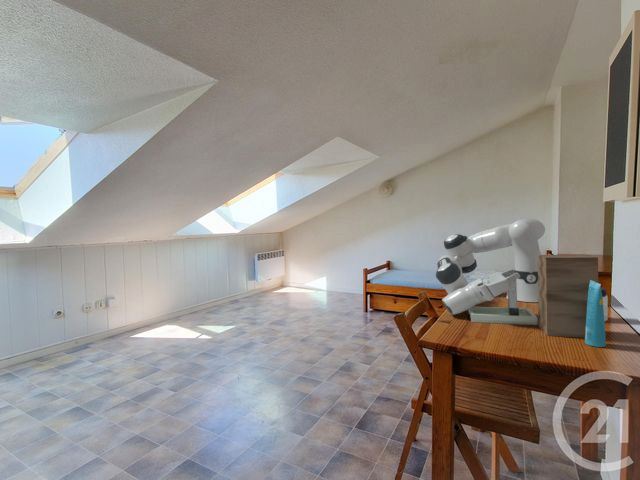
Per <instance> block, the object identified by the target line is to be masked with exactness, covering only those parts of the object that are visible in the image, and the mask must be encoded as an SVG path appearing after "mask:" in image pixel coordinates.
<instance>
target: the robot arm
mask: <svg viewBox="0 0 640 480" xmlns="http://www.w3.org/2000/svg"><path fill="white" fill-rule="evenodd" d="M545 233H546V227H545V224H544V223H543V222H541V221H540V220H539V219H537V218H536V219H534V218H523V219H522V218H521V219H518V220H515V221H514V222H513V223H512V222H511V223H509V224H504V225H499V226H496V227H495V226H494V227H493V228H489V229H485V230H482V231H479V232H477V233H474V234H472V235H470V236H467V235H462V234H460V233H459V234H457V233H455V234H452V235H449V236H447V237H446V238H445V239H444V241H443V246H444V248H445V250H446V252H447V254H444V255H442V256H440V258H438V260H437V264H436V265H437V269H436V272H435V273H436V274H435V277H436V278H435V279H437V280H438V281H439V283H440V284H441V286H442V287H443V288H444V290H445V292H446V293H447V294H446V296H444V297H442V299H441V301H442V304H443V306H444V307H445V309H446V310H447V312H449V314H451V315H458V314H461V313H464V312H465V311H469V309H470V308H472V307H473V306H474V307H475V306H476V305H480V304H483V303H485V302H491V301H493V300H494V299H495V298H496V297H498V296H499V295H501V294H503V293H505V292H506V300H508V289H510V288H511V287H512V286H511V284H510V283H512V282H513V281H515V280H516V281H517V302H525V303H526V302H527V303H538V255H542V253H541V249H540V246H539V240H540V239H542V237H543V236H544V234H545ZM509 247H512V249H513V254H514V256H513V257H514V269H512V268H510V269H509V270H505V271H503V272H501V273H500V272H499V271H496V272H494V273H491V274H490V275H488V276H486V277H484V278H483V279H481V278H480V277H479V278H477V279H475V280H473V281H470V282H469V281H468V279H466V277H465V275H464V274H469V273H471V272H473V271H474V270H476V268H477V267H478V264H477V260H476V259H475V256H474V254H479V253H487V252H491V251H496V250H500V249H505V248H509ZM507 273H514V274H513V275H511V276H510V277H507Z"/></svg>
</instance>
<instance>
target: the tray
mask: <svg viewBox="0 0 640 480" xmlns="http://www.w3.org/2000/svg"><path fill="white" fill-rule="evenodd" d="M518 308H519V316H512V315H509V312H508V307H499V306H497V307H496V306H495V307H494V306H475V305H474V306H473V307H472V308H470V309H468V315H470V316H469V318H470V321H471V323H485V324H486V323H487V324H503V325H519V326H520V325H522V326H523V325H524V326H538V316H537V315H536V314H534V313H533V311H531V310H530V309H529V308H520V307H518Z"/></svg>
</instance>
